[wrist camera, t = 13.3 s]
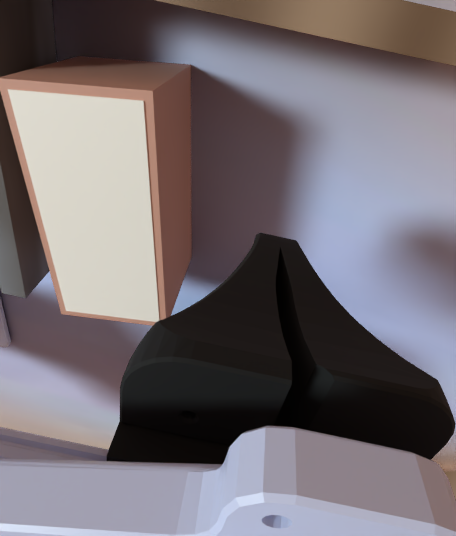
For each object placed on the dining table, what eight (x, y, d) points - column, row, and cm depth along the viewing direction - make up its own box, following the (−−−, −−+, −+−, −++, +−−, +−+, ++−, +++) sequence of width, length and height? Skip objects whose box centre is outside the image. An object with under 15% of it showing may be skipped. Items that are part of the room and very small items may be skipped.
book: (109, 246, 23) (60, 314, 18) (80, 55, 17) (-5, 78, 12) (191, 255, 22) (166, 328, 17) (191, 64, 16) (152, 91, 11)
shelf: (52, 240, 23) (1, 293, 18) (14, -78, 14) (-93, -109, 10) (330, 299, 23) (340, 365, 19) (455, 19, 14) (523, 27, 10)
